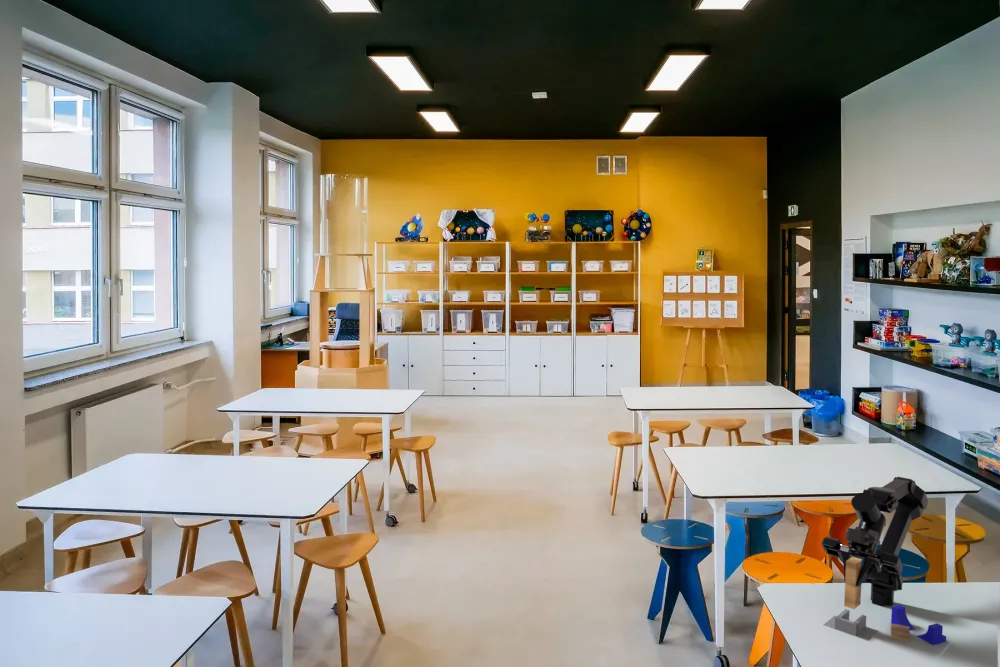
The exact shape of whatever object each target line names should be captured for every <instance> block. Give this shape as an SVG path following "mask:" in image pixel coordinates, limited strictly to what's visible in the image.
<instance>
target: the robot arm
mask: <svg viewBox="0 0 1000 667" xmlns="http://www.w3.org/2000/svg"><path fill="white" fill-rule="evenodd" d="M850 503H851V506H852V508H853V510H854V512H855V514H856V516H857V519H858V520H859V522H858V525H857V526H855V528H851V527H847V528H846V534H845V538H844V540H845V541H847V543H848V545H849V546H848V545H845V544H842V542H841V539H838V538H834V537H830V536H825V537H823V539H822V541H821V543H820V545H821V546H822V548H823V550H824V552H825V553H826V554H827V555H828V556H832V557H834V558H840V559H841V562H842V563H843V564H842V565H843V581H844V583H845V575H846V561H847V560H848V559H850V558H851V557H855V558H859V559H862V560H863V562H862V569H861V571H860V574H859V576H858V578H857V582H856V586H857V587H859V586H860V585H861V586H862V584H863V583H868V584H870V601H871V604H873V605H876V606H879V607H886V606H887V607H891V606H893V605H894V601H895V592H898V591H902V590H903V582H904V579H903V578H904V577H903V576H902V572H903V568H904V565H903V564H902V563H903V562H902V561H901V558H900V556H899V555H900V554H899V553H900V551H901V549H902V546H903V544H904V541H905V539H906V536H907V533H908V531H909V530H910V526H911V524H912V522H913V521H914V520H916V519H918V518H920V517H922V515H923V514H924V511H925V510H926V509H927V508H928V503H929V500H928V496H927V494H926V491H925V490H924V489H922V487H920V486H919V485H918V484H916V481H915V480H913V479H911V478H908V477H902V476H895V477H894V478H893V480H891V481H889V482H888V483H887V484H885V485H883V486H882V487H880V486H871V487H868V488H867V489H863V492H860V493H857V494H855V495H853V497H852V499H851V502H850ZM893 512H894V513H893ZM884 513H885V514H886V513H887V514H892V513H893V516H892V518H891V521H890V523H889V524H888V527H887V529H886V532H885V534H884V538H883V540H882V542H881V541H880V540H881V538H882V537H881V536H882V534H883V531H884V528H885V527H886V526H887V518H886V516H885V514H884ZM878 546H880V547H879V548H878ZM877 548H878V549H877Z"/></svg>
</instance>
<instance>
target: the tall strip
mask: <svg viewBox="0 0 1000 667" xmlns="http://www.w3.org/2000/svg"><path fill="white" fill-rule="evenodd" d="M862 567H863V559H862V558H859V557H855V556H853V557H851V558H850V559H848V560H847V561H846V575H845V582H844V604H843V605H844V607H846V608H849V609H853V610H856V609H857V608H858V607H859V606H860V605H861V600H862V598H861V597H862V584H861V585H860V586H859V587H857V586H856V582H857V578H858V576H859V574H860V571H861V569H862Z"/></svg>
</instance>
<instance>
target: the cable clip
mask: <svg viewBox="0 0 1000 667" xmlns="http://www.w3.org/2000/svg"><path fill="white" fill-rule="evenodd" d="M906 612H907V611H906V607H905V606H903V605H901V604H899V605H895V606H892V607H891V616H890V617H891V619H890V621H891V622H890V624H891V623H893V624H898V625H903V626H908V627H909V632H910V631H915V630H916V628H915V626H913V625H912V623H911V622H910V621H909V619H908V616H907V613H906ZM943 629H944V628H943V625H942V624H939V623H937V622H936V623H933V624H929V625H928V626H927V631H926V632H925V633H922V634H918V635H916V637H917V638H919V639H921V640H923V641H925V642H927V643H928V644H931V645H933V646H934V645H938V644H942V643H947V636H946V635H944V634H943V631H944V630H943Z"/></svg>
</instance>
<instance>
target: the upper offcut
mask: <svg viewBox="0 0 1000 667" xmlns="http://www.w3.org/2000/svg"><path fill="white" fill-rule="evenodd" d="M910 636H911V634H910V631H909V627H908V626H903V625H898V624H893V623H891V622H890V639H892V640H897V641H902V642H907V643H910Z"/></svg>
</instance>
